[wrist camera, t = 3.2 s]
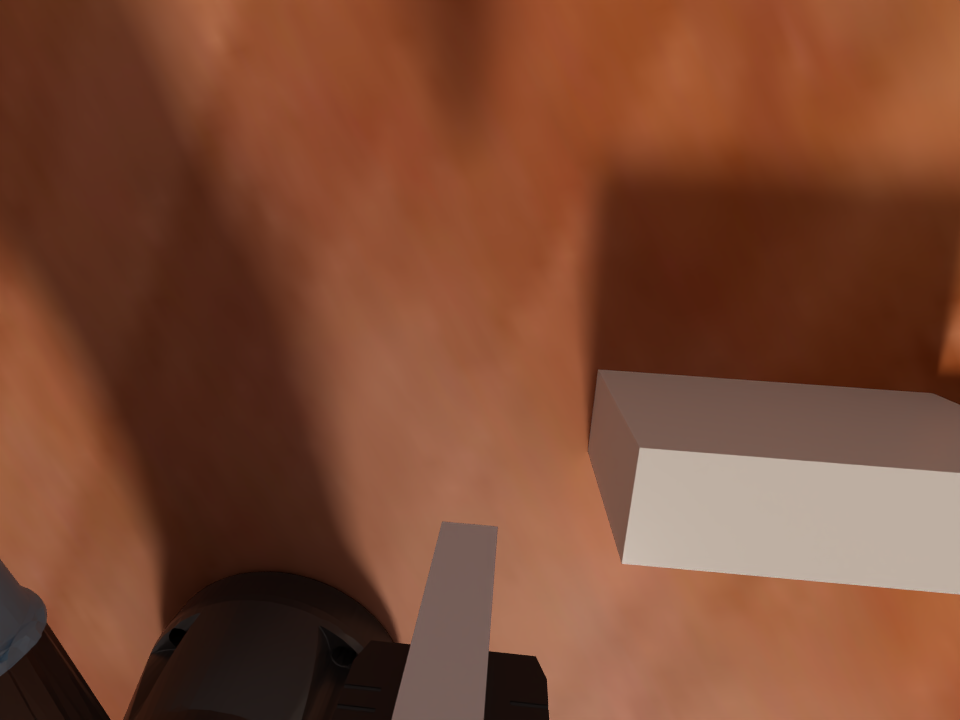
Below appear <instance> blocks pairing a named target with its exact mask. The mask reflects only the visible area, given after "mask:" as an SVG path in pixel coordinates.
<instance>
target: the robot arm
mask: <svg viewBox="0 0 960 720" xmlns="http://www.w3.org/2000/svg"><path fill="white" fill-rule="evenodd" d="M497 530H498V527H496V526H486V525H475V524H464V523H453V522H442V524H441V528H440V532H439V536H438V540H437V544H436V548H435V552H434V555H433V559H432V563H431V567H430V571H429V575H428V579H427V583H426V587H425V591H424V595H423V598H422V602H421V606H420V610H419V614H418V618H417V622H416V626H415V630H414V634H413V638H412V641H411V644H401V643H393V642H392V640H391V638H390V637H389V635H388V634H387V632H386V631H385V629H384V628H383V627H382V626H381V624H380V623H379V622H378V621H377V620H376V619H375V618H374V617H373V616H372V615H371V614H370V613H369V612H368V611H367V610H366V609H365V608H364V607H362V606H361V605H360V604H359V603H357V602H356V601H354V600H353V599H352V598H350V597H349V596H347V595H345V594H344V593H342V592H340V591H338V590H336V589H335V588H332V587H330V586H328V585H326V584H323V583H321V582H318V581H316V580H313V579H309V578H306V577H302V576H298V575H293V574H288V573H280V572H251V573H244V574H239V575H234V576H231V577H227V578H225V579H222V580H219V581H217V582H215V583H213V584H211V585H209V586H207V587H206V588H204V589H203V590H201V591H200V592H198V593H197V594H196V595H195V596H194V597H192V598H191V599H190V600H189V601H188V602H187V604H186V605H185V606H184V607H183V608H182V610H181V611H180V612H179V613H178V614H177V615H176V617H175V618H174V619H173V620H172V621H171V623H170V624H169V625H168V626H167V627H166V629H165V630H164V631H163V632H162V634H161V636H160V637H159V639H158V640H157V642H156V644H155V646H154V647H153V649H152V652H151V654H150V656H149V659H148V661H147V664H146V666H145V668H144V671H143V673H142V676H141V678H140V680H139V683H138V685H137V688H136V690H135V692H134V695H133V697H132V700H131V702H130V704H129V707H128V709H127V712H126V714H125V716H124V719H123V720H549V710H548V692H547V679H546V677H545V675H544V673H543V670H542V668H541V666H540V664H539V662H538V660H537V658H536V656H527V655H518V654H509V653H499V652H490V651H489V639H490V625H491V612H492V598H493V584H494V571H495V557H496V544H497ZM46 621H47V609H46V606H45V604H44V603H43V601H42V599H41V598H40V597H39V596H38V595H37V594H35V593H34V592H33V591H31V590H30V589H28V588H25V587H23V586H20V585H19V583H18V582H17V581H16V579H15V578H14V577H13V575H12V574H11V573H10V571H9V570H8V569H7V568H6V566H5V565H4V564H3V562H2V561H1V560H0V720H110V718H109V716H108V715H107V713H106V712H105V710H104V709H103V707H102V706H101V704H100V703H99V701H98V700H97V698H96V697H95V695H94V694H93V692H92V691H91V689H90V688H89V686H88V685H87V683H86V681H85V680H84V678H83V677H82V675H81V674H80V672H79V671H78V669H77V668H76V666H75V665H74V663H73V662H72V660H71V659H70V657H69V656H68V654H67V653H66V651H65V650H64V648H63V646H62V645H61V643H60V642H59V640H58V639H57V637H56V636H55V634H54V633H53V631H52V630H51V628H50V627H49V625H48V624H47V622H46Z"/></svg>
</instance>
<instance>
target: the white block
mask: <svg viewBox="0 0 960 720" xmlns="http://www.w3.org/2000/svg"><path fill="white" fill-rule="evenodd" d="M588 454H589V457H590V460H591V464H592V467H593V470H594V474H595V477H596V480H597V483H598V487H599V490H600V493H601V497H602V500H603V503H604V507H605V510H606V513H607V516H608V520H609V523H610V526H611V530H612V533H613V536H614V540H615V543H616V546H617V549H618V553H619V556H620V559H621V563H622V564H632V565H643V566H654V567H665V568H676V569H687V570H698V571H709V572H720V573H731V574H742V575H753V576H764V577H775V578H786V579H797V580H808V581H819V582H830V583H841V584H852V585H863V586H874V587H885V588H896V589H907V590H918V591H929V592H940V593H951V594H960V405H959V404H957V403H955V402H952V401H950V400H948V399H945V398H943V397H940V396H938V395H936V394H933V393H922V392H908V391H894V390H880V389H866V388H852V387H838V386H824V385H810V384H796V383H782V382H768V381H754V380H740V379H726V378H712V377H698V376H684V375H670V374H656V373H642V372H628V371H614V370H599V369H598V373H597V381H596V389H595V398H594V406H593V414H592V422H591V430H590V438H589V446H588Z"/></svg>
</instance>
